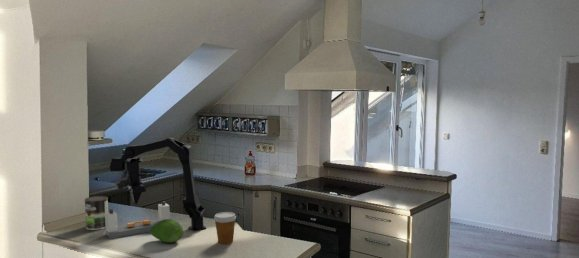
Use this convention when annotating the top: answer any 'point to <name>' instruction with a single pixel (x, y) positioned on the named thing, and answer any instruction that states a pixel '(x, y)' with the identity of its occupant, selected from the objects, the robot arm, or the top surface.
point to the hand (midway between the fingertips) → (135, 204)
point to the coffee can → (96, 212)
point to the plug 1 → (111, 221)
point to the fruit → (167, 231)
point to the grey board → (131, 230)
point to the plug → (163, 211)
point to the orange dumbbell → (138, 222)
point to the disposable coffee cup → (225, 227)
